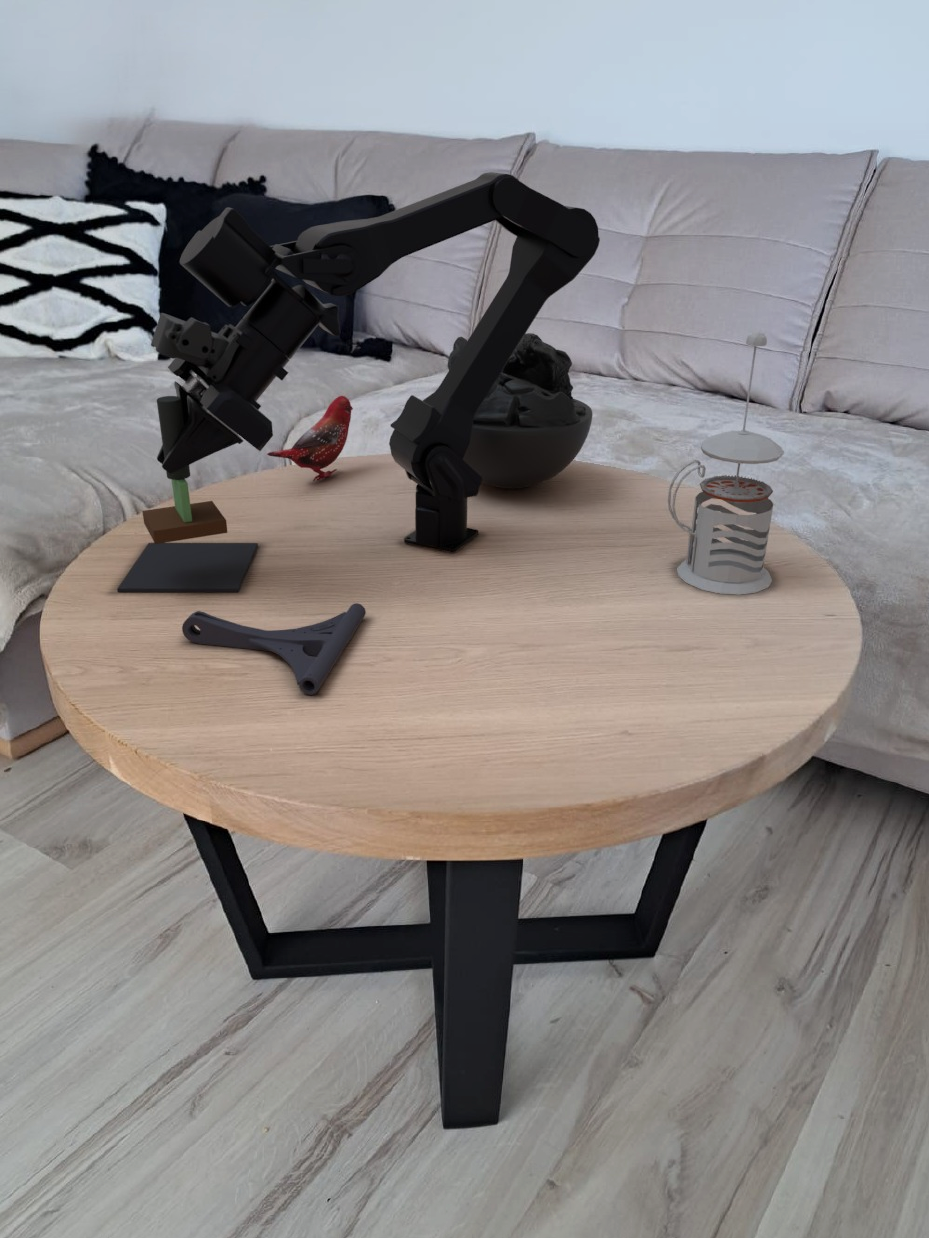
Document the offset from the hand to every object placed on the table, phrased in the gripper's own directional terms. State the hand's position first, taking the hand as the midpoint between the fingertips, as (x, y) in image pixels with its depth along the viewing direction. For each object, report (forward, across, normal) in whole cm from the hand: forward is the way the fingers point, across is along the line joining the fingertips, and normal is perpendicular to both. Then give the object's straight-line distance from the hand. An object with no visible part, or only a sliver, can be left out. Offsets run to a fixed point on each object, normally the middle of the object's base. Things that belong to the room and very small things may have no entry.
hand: (163, 466), depth 95 cm
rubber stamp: (+4, 0, +6) cm, 7 cm away
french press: (-27, +21, +46) cm, 57 cm away
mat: (+7, -4, +10) cm, 13 cm away
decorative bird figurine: (-7, -25, +25) cm, 36 cm away
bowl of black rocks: (-23, -14, +41) cm, 49 cm away
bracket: (+6, +17, +12) cm, 21 cm away
